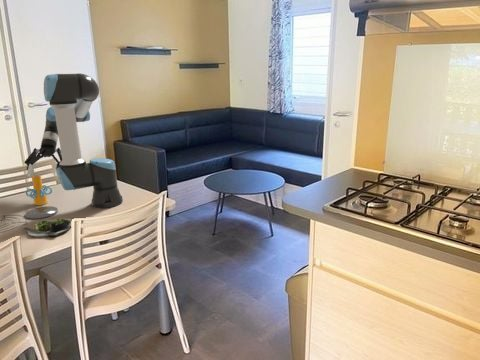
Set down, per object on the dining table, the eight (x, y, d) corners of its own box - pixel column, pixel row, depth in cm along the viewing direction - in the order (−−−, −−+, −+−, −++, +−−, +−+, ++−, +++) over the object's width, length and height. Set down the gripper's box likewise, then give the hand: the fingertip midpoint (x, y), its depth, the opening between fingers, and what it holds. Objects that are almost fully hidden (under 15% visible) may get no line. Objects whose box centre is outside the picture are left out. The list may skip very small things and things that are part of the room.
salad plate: (15, 241, 158) (12, 230, 157) (33, 223, 175) (31, 214, 174) (63, 238, 159) (61, 228, 158) (77, 221, 176) (75, 212, 175)
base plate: (64, 210, 189) (63, 208, 189) (40, 221, 177) (39, 219, 176) (43, 206, 194) (43, 204, 194) (18, 216, 182) (18, 214, 182)
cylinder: (42, 208, 192) (36, 179, 187) (23, 207, 194) (18, 178, 189) (57, 200, 203) (53, 172, 199) (40, 198, 205) (35, 172, 201)
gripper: (75, 144, 215) (68, 178, 205) (29, 145, 214) (21, 179, 204) (69, 137, 208) (62, 171, 198) (23, 138, 207) (13, 172, 198)
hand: (41, 175), depth 201 cm, fingers open, 13 cm apart
